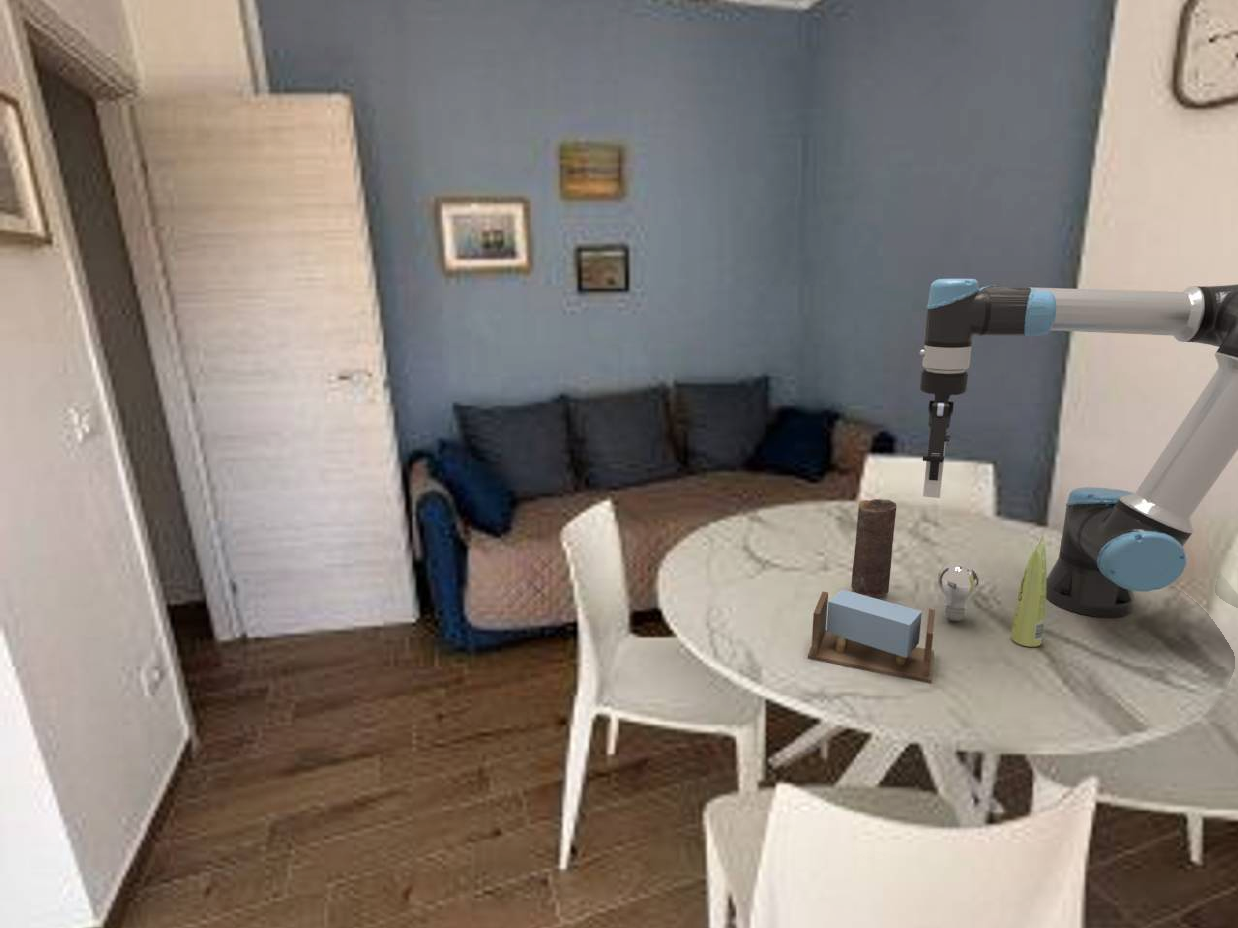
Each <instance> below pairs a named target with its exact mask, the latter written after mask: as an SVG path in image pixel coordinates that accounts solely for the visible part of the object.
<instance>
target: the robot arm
mask: <svg viewBox="0 0 1238 928" xmlns="http://www.w3.org/2000/svg"><path fill="white" fill-rule="evenodd" d="M925 320H926V321H925V329H924V330H925V331H924V332H925V334H924V346H923V348H924V349H920V350H919V355H920V356H923V357H922V363H921V364H922V367H923V368H924V369H922V371H920V372H921V373H920V384H919V389H920V391H921V392H923V393H925V394H932V395H934V400H929V403H928V414H929V415H928V416H929V417H928V427H930V432H929V441H928V451H927V454H926V455H923V456H922V461H923V462H926V463H925V470H924V471H925V474H924V482H923V483H924V484H923V494H922V497H926V498H936V499H940V498H941V491H942V490H941V489H942V483H943V482H942V481H943V480H942V479H943V472H944V463H945V451H946V446H947V445H946V444H947V443H946V442H949V443H950V439H951V435H946V434H948V433H947V429H949V428H950V426H951V425H950V424H951V417H952V415H953V411H954V404H955V403H954V401H950V398H951V396H957V395H963V394H965V393H966V392H967V388H968V380H969V379H968V377H969V373H968V372H967V371H966V370H968V369H969V368H970V364H971V354H972V353H971V352H972V342H973V341H972V340H973V337H974V336H980V337H981V336H1011V337H1013V336H1014V337H1016V336H1017V337H1019V336H1020V337H1021V336H1022V337H1023V336H1024V337H1026V338H1028V337H1030V336H1031V337H1032V336H1045V335H1047V334H1048V333H1050V331H1061V332H1062V331H1063V332H1079V333H1080V332H1082V333H1083V332H1084V333H1085V332H1086V333H1087V332H1088V333H1101V334H1102V333H1105V334H1124V335H1125V334H1126V335H1127V334H1128V335H1148V336H1149V335H1151V336H1154V335H1155V336H1170V337H1171V336H1172V337H1174V339H1175V340H1177V341H1178V342H1182V343H1186V342H1187V343H1195V344H1196V343H1197V344H1202V345H1203V344H1204V345H1208V346H1213V347H1218V349H1216V351H1215V353H1214V356H1215V360H1216V362H1217V365H1218V366H1217V367H1218V368H1217V370H1216V371H1215V373H1214V374H1213V375H1212V377H1211V378H1210V379H1209V382H1208V383H1207V385H1206V386H1205V387H1204V389H1203V391H1202V392H1201V393H1200V395H1199V396H1198V398H1197V399H1196V401H1195V402H1194V404H1193V406H1192V407H1191V408H1190V409H1189V411H1188V413H1187V414H1186V415H1185V417H1184V419H1183V421H1182V422H1181V423H1180V425H1179V426H1178V428H1177V429H1176V431H1175V432H1174V434H1173V435H1172V437H1171V438H1170V440H1169V441H1168V443H1167V445H1166V446H1165V448H1164V449H1163V450H1162V452H1161V453H1160V455H1159V457H1158V458H1157V459H1156V461H1155V463H1154V464H1153V466H1152V467H1151V469H1150V470H1149V472H1148V473H1147V475H1146V476H1145V477H1144V479H1143V480H1142V482H1141V483H1140V485H1139V486H1138V488H1137V490H1136V491H1135V492H1132V491H1127V490H1122V489H1116V488H1108V487H1107V488H1106V487H1093V486H1092V487H1090V486H1089V487H1077V488H1074V489H1072V490H1071V491H1070V493H1069V495H1068V499H1067V502H1066V503H1065V507H1066V508H1065V514H1064V521H1063V527H1062V533H1061V534H1062V535H1061V541H1060V547H1059V555H1058V559H1057V560H1056V561H1055V564H1054V565H1053V567H1052V569H1051V571H1050V572H1049V573H1048V575H1047V576H1046V600H1049V602H1051V604H1054V605H1056V606H1057V607H1060V608H1062V609H1065V610H1067V611H1069V612H1073V613H1075V614H1076V613H1077V614H1080V615H1084V616H1088V617H1089V616H1091V617H1098V618H1119V617H1124V616H1127V615H1129V614H1131V613H1132V611H1133V606H1134V601H1135V598H1134V592H1139V593H1140V592H1141V593H1144V592H1145V593H1146V592H1151V591H1155V590H1161V589H1164V588H1166V587H1168V586H1170V585H1172V584H1173V583H1175V581H1177V580H1178V578H1180V576H1182V574H1183V573H1184V571H1185V568H1186V566H1187V557H1186V551H1185V548H1184V545H1185V544H1186V543H1187V541H1188V540H1189V539H1190V537H1191V536H1192V534H1193V532H1194V528H1193V525H1192V523H1191V520H1190V519H1191V517H1192V515H1193V514H1194V512H1195V511H1196V510H1197V509H1198V507H1199V505H1200V504H1201V502H1202V501H1203V500H1204V498H1205V497H1206V496H1207V494H1208V492H1209V491H1210V490H1211V488H1212V487H1213V486H1214V484H1215V483H1216V481H1217V480H1218V478H1219V477H1220V476H1221V474H1222V472H1223V471H1224V470H1225V469H1226V467H1227V465H1228V464H1229V463H1230V462H1231V460H1232V458H1233V457H1234V455H1236V452H1237V451H1238V283H1237V284H1227V285H1212V286H1210V285H1209V286H1208V285H1207V286H1203V285H1202V286H1197V285H1196V286H1195V285H1193V286H1188V287H1187V288H1185V289H1184V290H1183V291H1168V290H1167V291H1165V290H1164V291H1163V290H1133V289H1132V290H1131V289H1128V290H1126V289H1097V288H1096V289H1095V288H1059V287H1057V288H1056V287H1023V286H1022V287H1021V286H1020V287H1019V286H1002V285H995V284H993V285H991V284H990V285H987V286H984V287H981V288H979V281H978V280H977V279H975V278H939V279H936V280H934V281H932V283H931V284H930V287H929V295H928V300H927V305H926V319H925Z"/></svg>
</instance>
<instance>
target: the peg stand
mask: <svg viewBox="0 0 1238 928" xmlns="http://www.w3.org/2000/svg"><path fill="white" fill-rule="evenodd" d="M828 599H829V592H828V591H822V592H821V594H820V596H819V600H818V601H817V604H816V607H815V608H814V611H813V615H812V616H813V617H812V636H811V645H810V649H809V651H808V654H807V659H809V660H814V661H820V662H825V663H829V664H835V665H839V666H840V665H841V666H845V667H849V668H853V669H860V670H864V671H865V670H866V671H869V672H874V673H880V674H885V675H889V676H893V677H894V676H896V677H900V678H904V679H909V680H913V681H919V682H924V683H929V684H931V683H932V680H933V679H932V678H933V667H934V658H935V657H934V656H935V654H934V653H935V650H934V649H932V648H933V639H934V629H935V617H936V609H934V608H933V609H932V608H928V614H927V615H928V616H927V624H926V625H927V626H926V636H925V644H924V648H923V647H919V646H916V647H915V648H914V650H913V651H912V652H911V653H910V654H909V656H908V657H907V658H905V657H902V656H899V655H896V654H893V653H890V652H887V651H883V650H880V649H877V648H874V647H871V646H868V645H865V644H862V643H858V642H855V641H852V640H849V639H846V638H843V637H840V636H836V635H833V634H830V633H827V632H826V631H827V615H828V601H829V600H828Z"/></svg>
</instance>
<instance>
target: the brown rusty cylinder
mask: <svg viewBox="0 0 1238 928" xmlns="http://www.w3.org/2000/svg"><path fill="white" fill-rule="evenodd" d="M857 508H858V509H857V520H856V531H855V544H854V556H853V564H852V572H851V573H852V574H851V586H850V587H851V588H852V590H853V592H854V593H858V594H861V595H865V596H868V597H873V598H878V597H883V596H886V595H887V594H888V593H889V589H890V581H891V568H892V567H891V566H892V555H893V547H894V545H893V543H894V532H895V527H896V526H895V523H896V515H897V503H896V502H894V501H892V500H890V499H887V498H884V499H882V498H873V499H870V500H869V499H864V500H861V501H860V502H859V503H858V507H857Z"/></svg>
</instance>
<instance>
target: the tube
mask: <svg viewBox="0 0 1238 928" xmlns="http://www.w3.org/2000/svg"><path fill="white" fill-rule="evenodd" d="M1045 544H1046V543H1045V540H1044V534H1043V533H1042V534H1041V536H1040V538H1039V539H1038V541H1037V542H1036V544H1035V546H1034V547H1033V550H1032V552H1031V554H1030V556H1029V559H1028V560H1027V564H1026V566H1025V571H1024V573H1023V576H1022V580H1021V583H1020V586H1019V590H1018V595H1017V598H1016V605H1015V610H1014V614H1013V620H1012V621H1013V622H1012V627H1011V632H1010V633H1011V634H1010V638H1011V640H1012V641H1013V642H1015V643H1016V644H1018V645H1020V646H1024V647H1032V648H1033V647H1039V646H1041V645H1042V643H1043V637H1044V636H1043V634H1044V625H1045V616H1046V605H1047V604H1046V603H1047V601H1046V600H1047V598H1046V579H1047V555H1046V545H1045Z"/></svg>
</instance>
